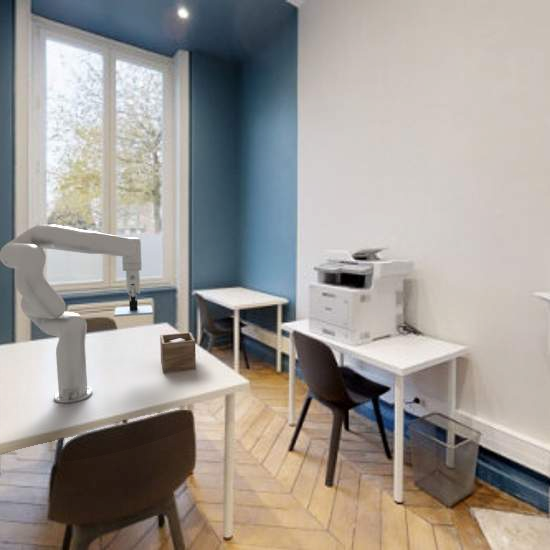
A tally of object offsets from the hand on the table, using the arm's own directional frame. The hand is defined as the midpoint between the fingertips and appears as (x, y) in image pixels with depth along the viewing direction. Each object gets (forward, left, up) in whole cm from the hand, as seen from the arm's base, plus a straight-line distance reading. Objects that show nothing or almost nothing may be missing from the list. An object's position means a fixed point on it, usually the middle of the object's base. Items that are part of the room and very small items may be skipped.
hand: (133, 308), depth 168 cm
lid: (0, 0, -1) cm, 1 cm away
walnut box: (0, -18, -28) cm, 33 cm away
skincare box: (0, -18, -28) cm, 33 cm away
